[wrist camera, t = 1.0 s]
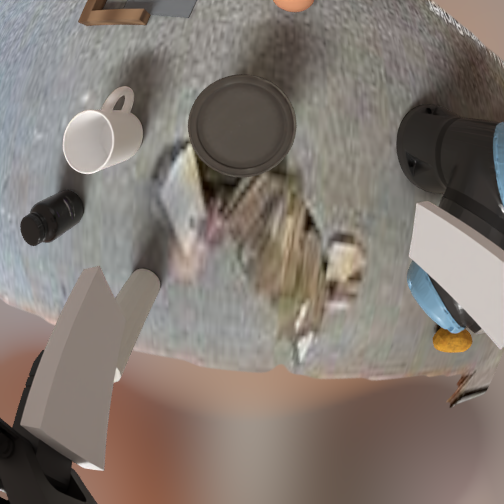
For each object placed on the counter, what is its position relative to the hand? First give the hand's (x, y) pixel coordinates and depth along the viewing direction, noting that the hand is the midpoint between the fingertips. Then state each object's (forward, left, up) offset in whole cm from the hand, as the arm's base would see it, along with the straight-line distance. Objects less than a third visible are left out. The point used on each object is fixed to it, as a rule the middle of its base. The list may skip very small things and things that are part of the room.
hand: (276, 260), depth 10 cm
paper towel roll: (+13, +27, -32) cm, 44 cm away
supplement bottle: (+30, +16, -32) cm, 47 cm away
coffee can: (+3, -4, -32) cm, 32 cm away
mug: (+21, 0, -32) cm, 38 cm away
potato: (-58, +21, -32) cm, 69 cm away
